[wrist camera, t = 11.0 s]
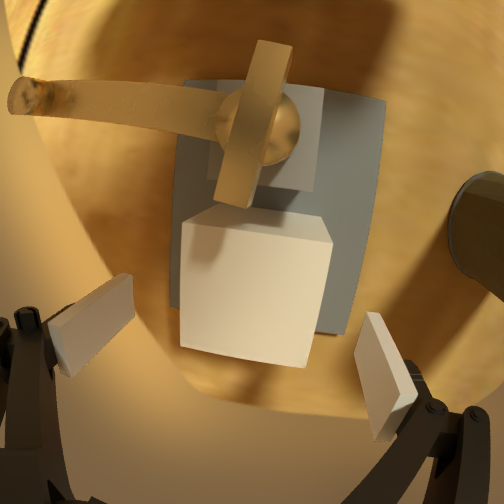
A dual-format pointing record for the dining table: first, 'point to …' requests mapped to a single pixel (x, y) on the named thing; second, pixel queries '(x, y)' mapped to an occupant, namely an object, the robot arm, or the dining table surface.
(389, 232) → the dining table surface
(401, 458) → the robot arm
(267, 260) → the cover
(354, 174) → the latch base
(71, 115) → the latch bar
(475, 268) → the canister
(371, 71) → the dining table surface
